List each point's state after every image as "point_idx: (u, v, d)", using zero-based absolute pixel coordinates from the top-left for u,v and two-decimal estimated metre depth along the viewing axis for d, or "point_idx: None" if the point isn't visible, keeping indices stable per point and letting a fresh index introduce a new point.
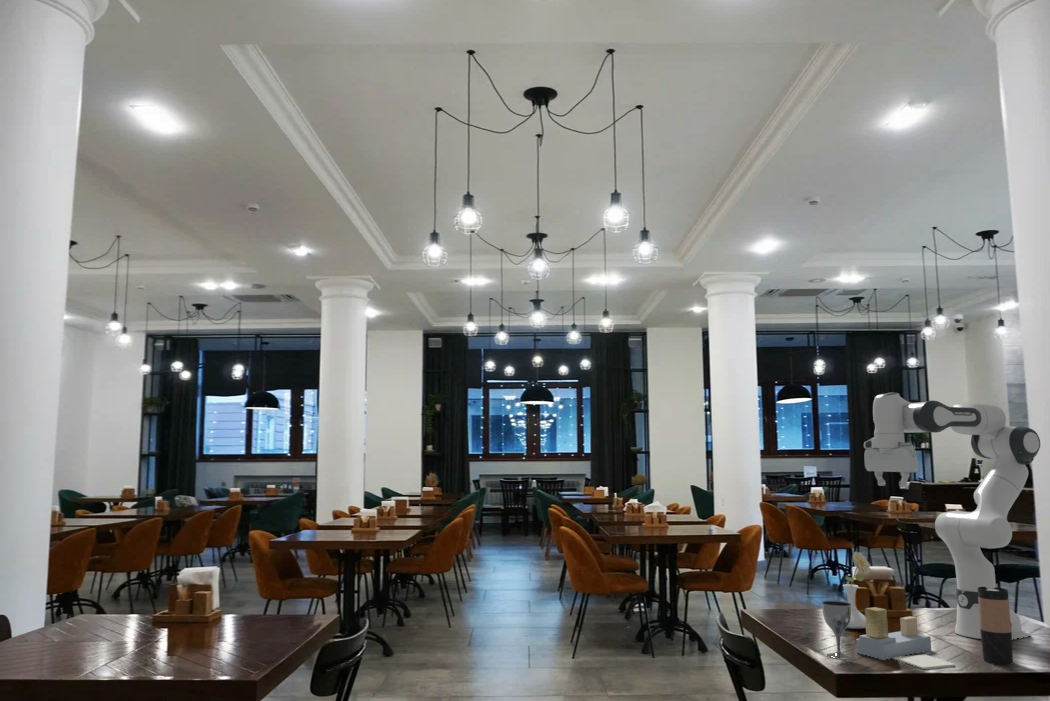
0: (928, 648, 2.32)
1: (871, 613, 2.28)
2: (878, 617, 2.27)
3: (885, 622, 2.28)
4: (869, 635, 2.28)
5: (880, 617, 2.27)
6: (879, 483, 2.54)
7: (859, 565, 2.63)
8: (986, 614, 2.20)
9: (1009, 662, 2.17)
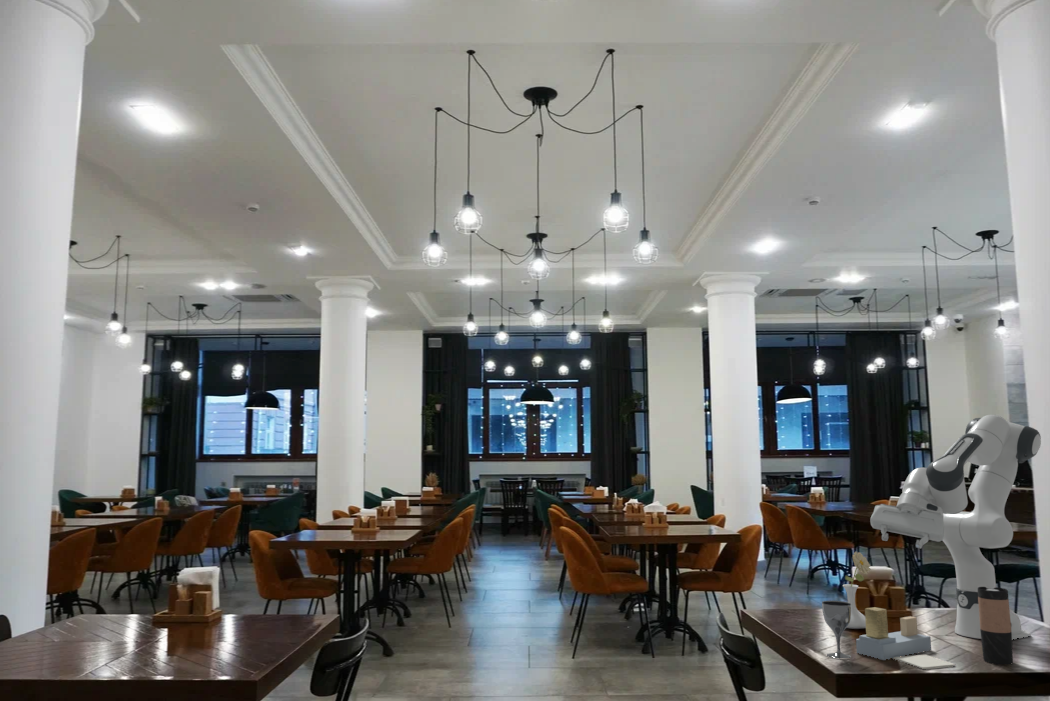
0: (928, 648, 2.32)
1: (871, 613, 2.28)
2: (878, 617, 2.27)
3: (885, 622, 2.28)
4: (869, 635, 2.28)
5: (880, 617, 2.27)
6: None
7: (859, 565, 2.63)
8: (986, 614, 2.20)
9: (1009, 662, 2.17)
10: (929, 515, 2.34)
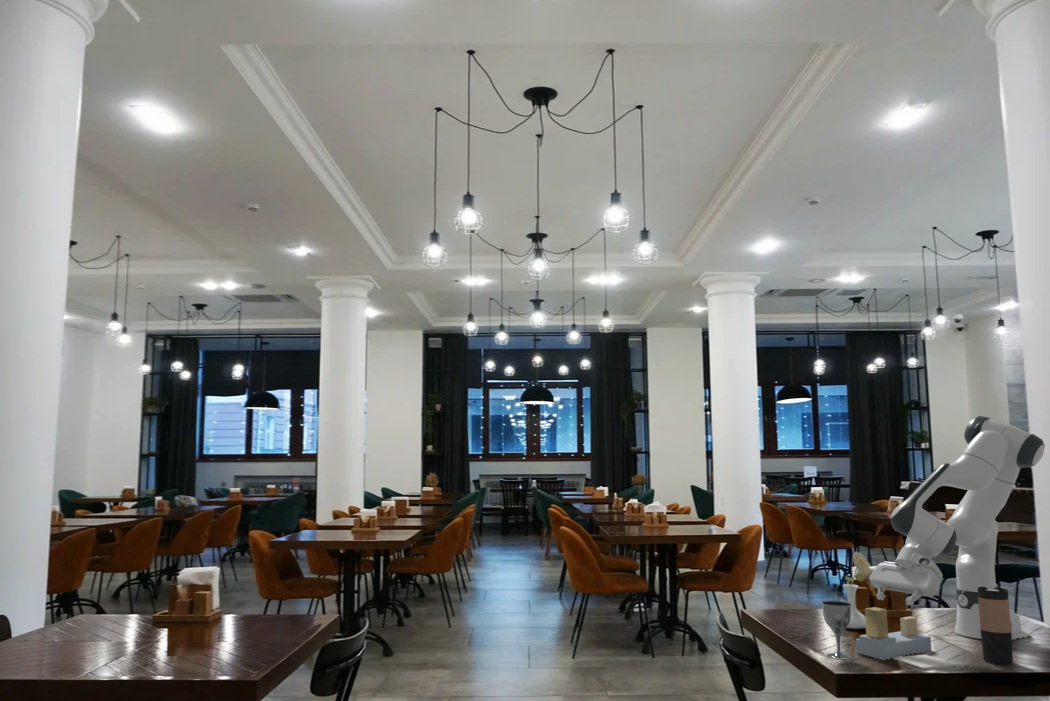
0: (928, 648, 2.32)
1: (871, 613, 2.28)
2: (878, 617, 2.27)
3: (885, 622, 2.28)
4: (869, 635, 2.28)
5: (880, 617, 2.27)
6: None
7: (859, 565, 2.63)
8: (986, 614, 2.20)
9: (1009, 662, 2.17)
10: (921, 570, 2.31)
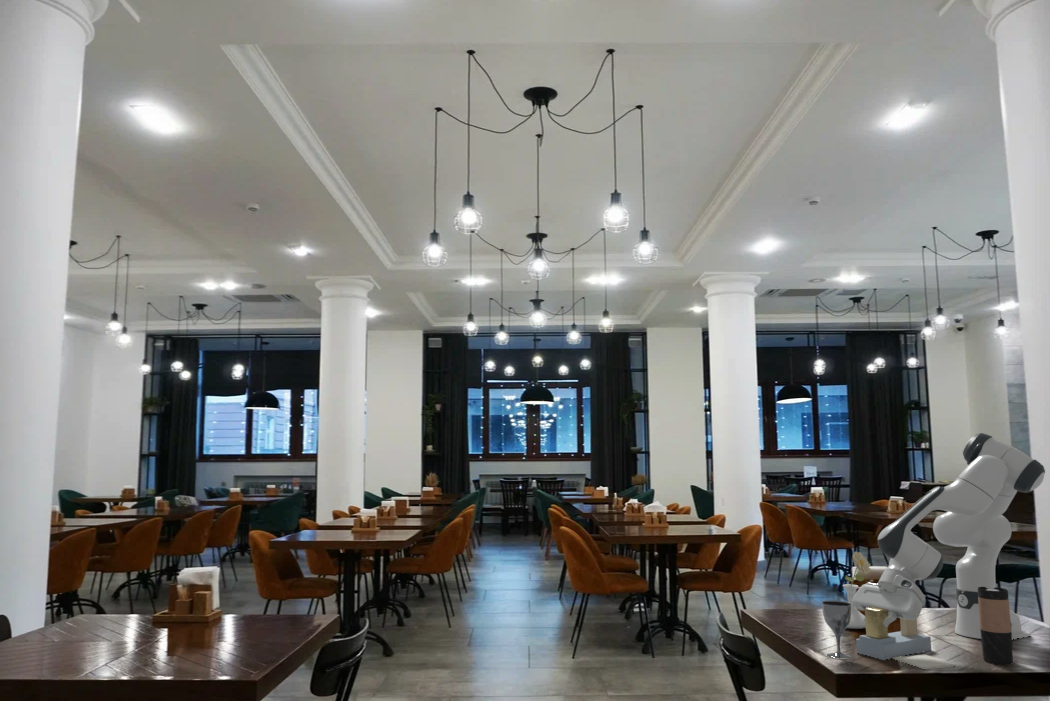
0: (928, 648, 2.32)
1: (871, 613, 2.28)
2: (878, 617, 2.27)
3: None
4: (869, 635, 2.28)
5: (880, 617, 2.27)
6: None
7: (859, 565, 2.63)
8: (986, 614, 2.20)
9: (1009, 662, 2.17)
10: (903, 592, 2.28)
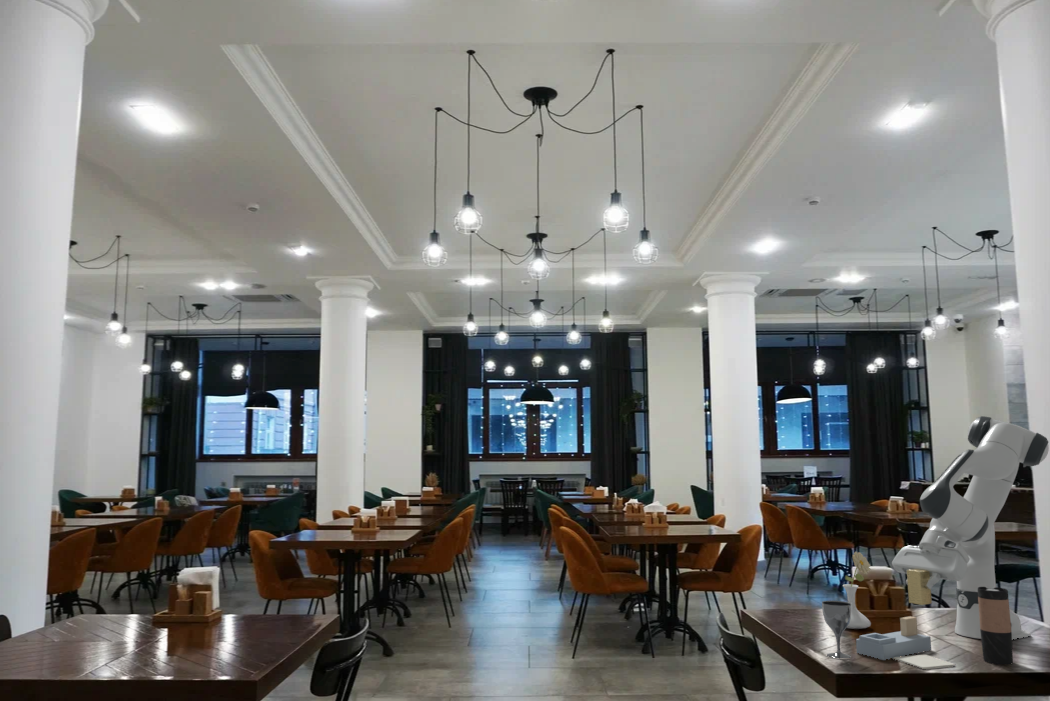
0: (928, 648, 2.32)
1: (914, 575, 2.21)
2: (921, 578, 2.19)
3: None
4: (912, 597, 2.21)
5: (924, 578, 2.20)
6: None
7: (859, 565, 2.63)
8: (986, 614, 2.20)
9: (1009, 662, 2.17)
10: (947, 553, 2.21)
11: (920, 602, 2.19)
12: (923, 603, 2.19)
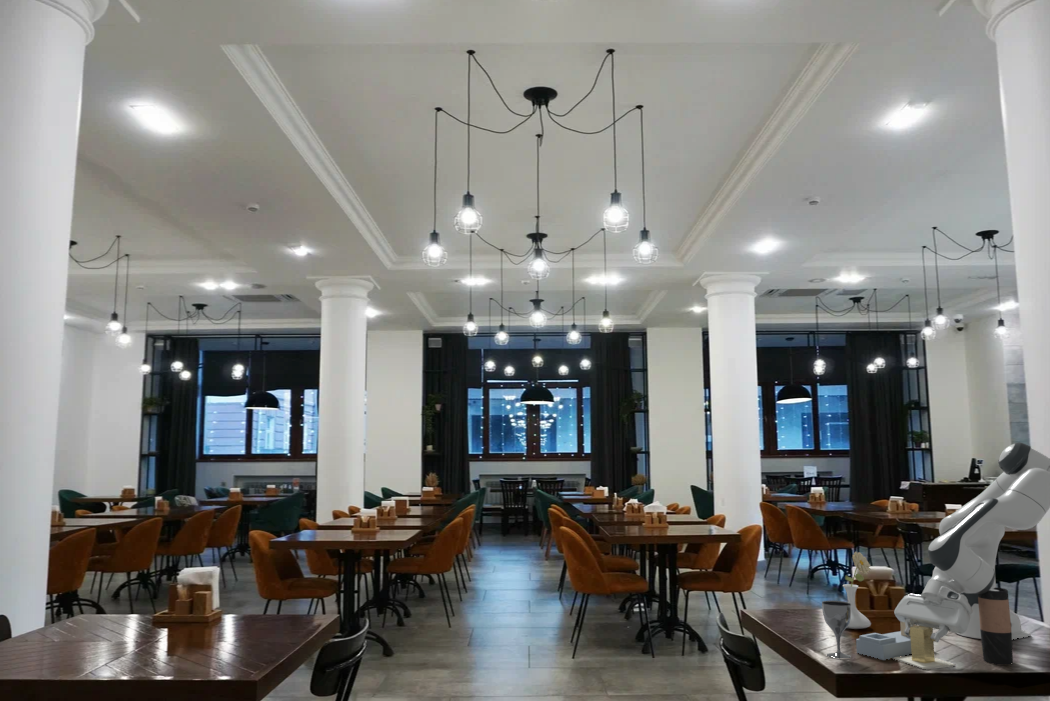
0: None
1: (917, 632, 2.19)
2: (924, 636, 2.17)
3: (931, 641, 2.19)
4: (915, 655, 2.19)
5: (927, 636, 2.18)
6: None
7: (859, 565, 2.63)
8: (986, 614, 2.20)
9: (1009, 662, 2.17)
10: (950, 604, 2.19)
11: (923, 660, 2.17)
12: (926, 661, 2.17)
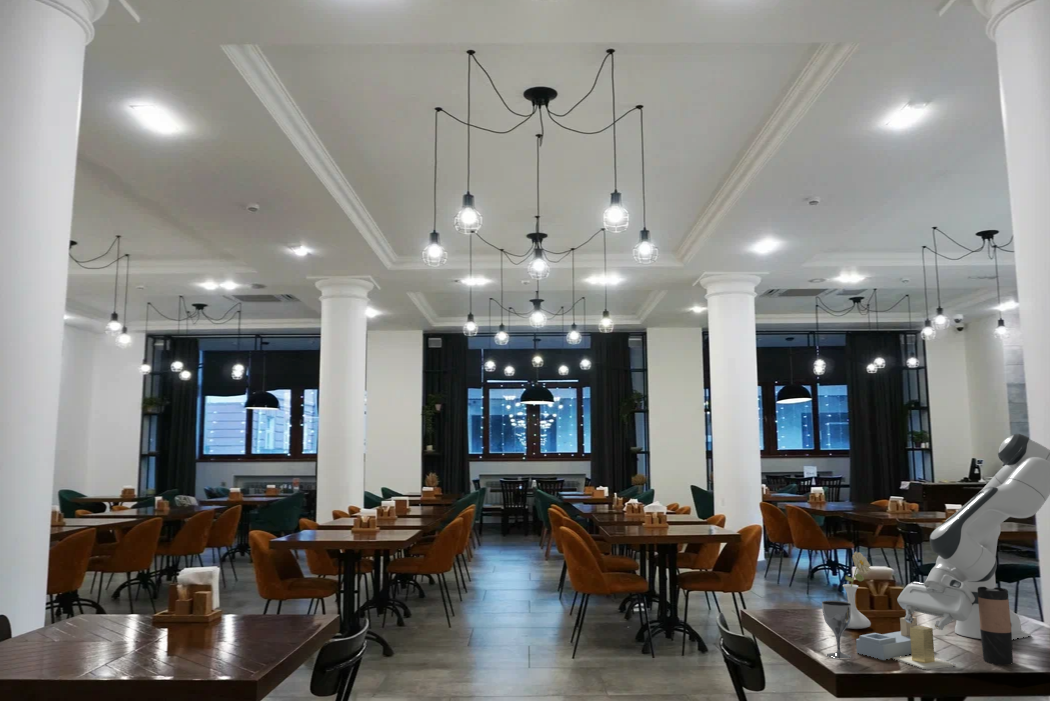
0: None
1: (917, 632, 2.19)
2: (924, 636, 2.17)
3: (931, 641, 2.19)
4: (915, 655, 2.19)
5: (927, 636, 2.18)
6: None
7: (859, 565, 2.63)
8: (986, 614, 2.20)
9: (1009, 662, 2.17)
10: (952, 592, 2.21)
11: (923, 660, 2.17)
12: (926, 662, 2.17)
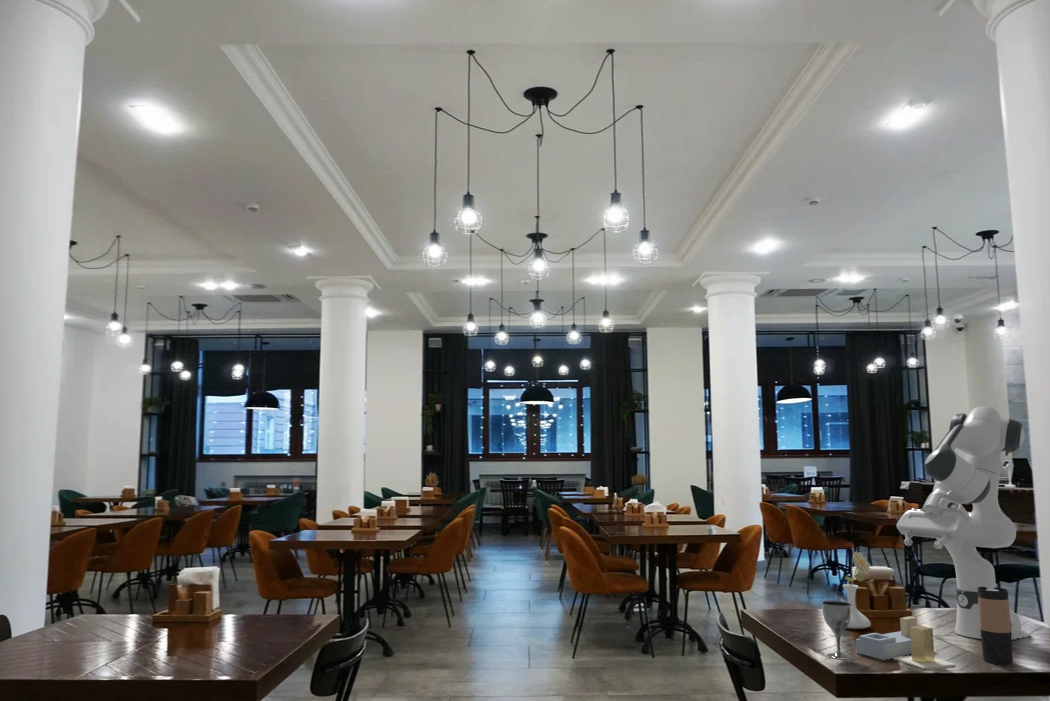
0: None
1: (917, 632, 2.19)
2: (924, 636, 2.17)
3: (931, 641, 2.19)
4: (915, 655, 2.19)
5: (927, 636, 2.18)
6: None
7: (859, 565, 2.63)
8: (985, 614, 2.20)
9: (1009, 662, 2.17)
10: (950, 514, 2.29)
11: (923, 660, 2.17)
12: (926, 662, 2.17)
